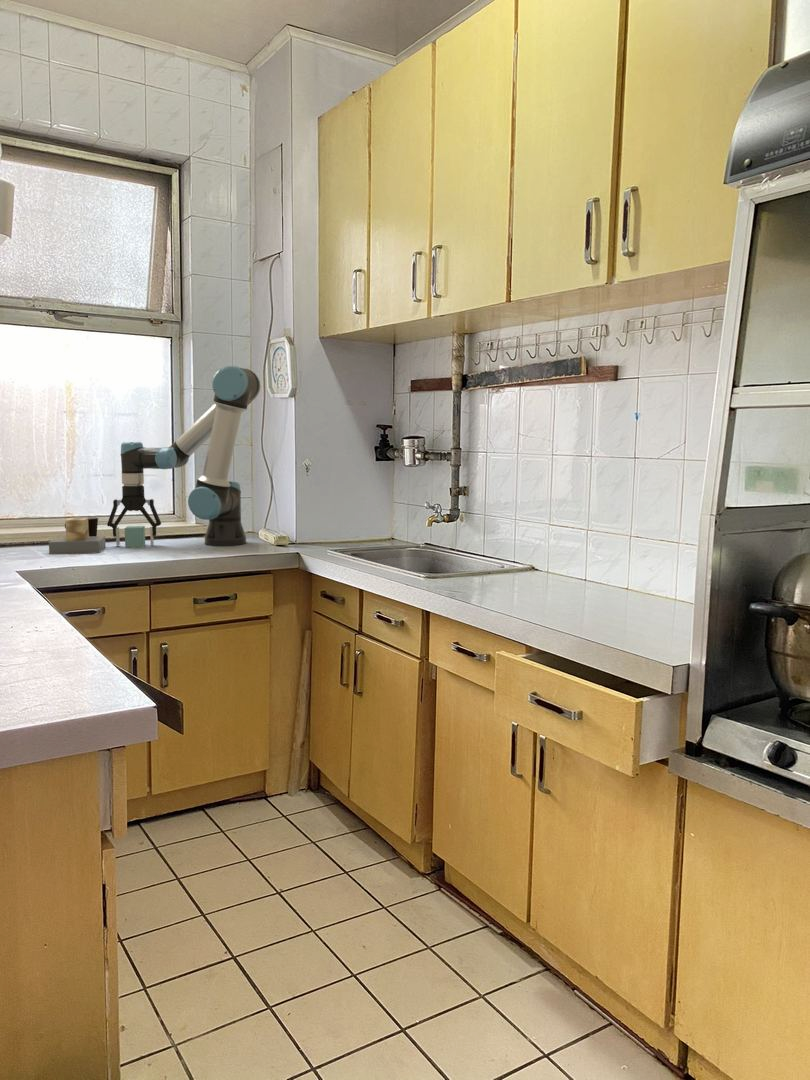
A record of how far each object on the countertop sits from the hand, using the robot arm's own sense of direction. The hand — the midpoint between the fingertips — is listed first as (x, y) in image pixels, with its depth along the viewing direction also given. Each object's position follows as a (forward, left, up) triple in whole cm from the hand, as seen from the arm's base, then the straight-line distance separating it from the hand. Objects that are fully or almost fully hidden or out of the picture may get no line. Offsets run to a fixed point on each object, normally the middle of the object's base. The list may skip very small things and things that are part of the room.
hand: (135, 545), depth 299 cm
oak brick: (+18, +9, +4) cm, 20 cm away
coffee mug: (+19, -6, 0) cm, 19 cm away
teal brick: (0, 0, 0) cm, 0 cm away
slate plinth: (+18, +9, 0) cm, 20 cm away
